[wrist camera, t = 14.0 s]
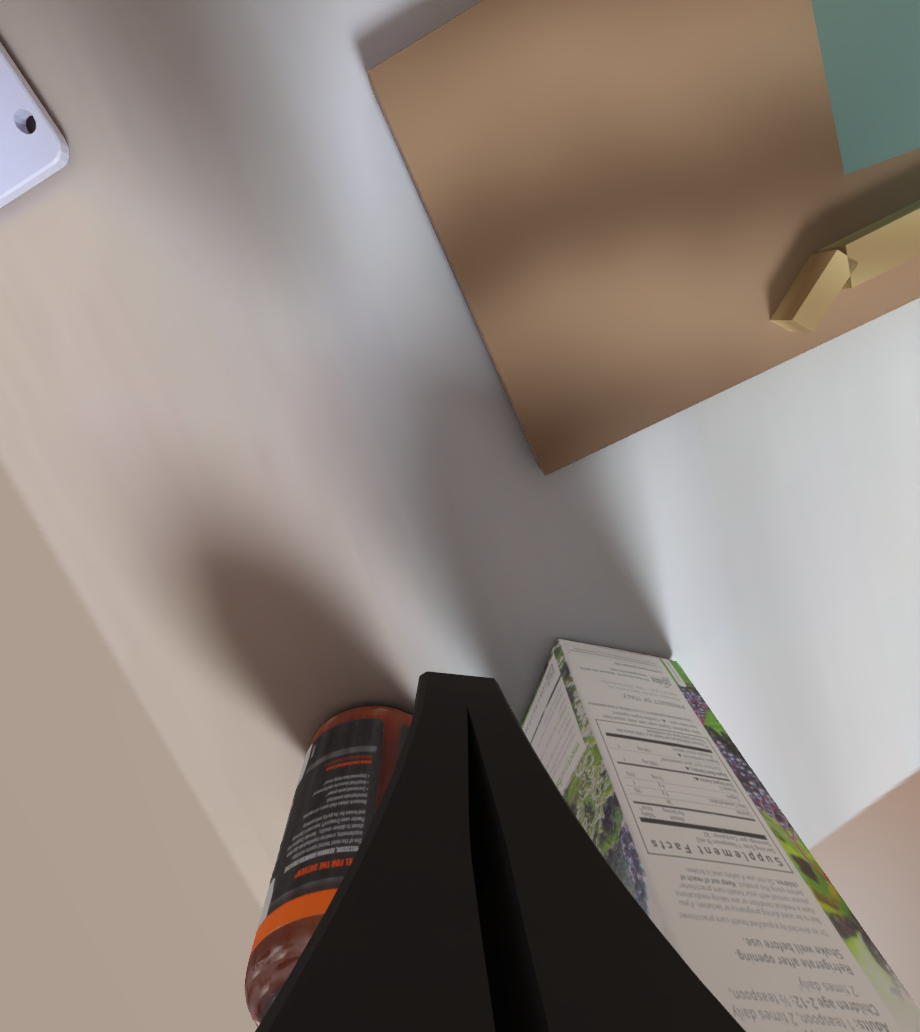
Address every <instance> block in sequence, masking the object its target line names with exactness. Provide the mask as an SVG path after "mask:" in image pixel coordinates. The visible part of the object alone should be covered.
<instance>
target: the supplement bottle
mask: <svg viewBox="0 0 920 1032" xmlns="http://www.w3.org/2000/svg"><path fill="white" fill-rule="evenodd" d="M412 716H413V715H411V714H409V713H406V712H404V711H401V710H398V709H395V708H390V707H385V706H363V707H358V708H353V709H350V710H347V711H344V712H341V713H339V714H337V715H335V716H334V717H332V718H330V719H329V720H327V721H326V722H325V723H324V724H323V725H322V726H321V727H320V728H319V729H318V730H317V732H316V733H315V735H314V736H313V738H312V740H311V742H310V745H309V748H308V751H307V753H306V756H305V759H304V763H303V767H302V770H301V774H300V778H299V781H298V785H297V788H296V791H295V796H294V799H293V802H292V806H291V810H290V813H289V817H288V821H287V824H286V828H285V831H284V835H283V839H282V842H281V845H280V850H279V853H278V857H277V861H276V864H275V868H274V871H273V874H272V878H271V881H270V886H269V889H268V893H267V896H266V900H265V903H264V907H263V911H262V914H261V918H260V922H259V925H258V929H257V933H256V937H255V940H254V944H253V947H252V951H251V955H250V958H249V962H248V967H247V972H246V979H245V996H246V1003H247V1006H248V1009H249V1012H250V1013H251V1016H252V1019H253V1020H254V1021H255V1023H256V1025H257V1027H258V1026H259V1025H260V1023H261V1022H262V1020H263V1018H264V1017H265V1015H266V1013H267V1012H268V1010H269V1008H270V1007H271V1005H272V1004H273V1002H274V1000H275V999H276V997H277V995H278V993H279V992H280V990H281V988H282V987H283V985H284V983H285V982H286V980H287V978H288V977H289V975H290V973H291V972H292V970H293V968H294V966H295V965H296V963H297V961H298V959H299V958H300V956H301V954H302V952H303V950H304V949H305V947H306V945H307V943H308V942H309V940H310V938H311V936H312V935H313V933H314V931H315V929H316V928H317V926H318V924H319V922H320V921H321V919H322V917H323V915H324V913H325V912H326V910H327V908H328V906H329V904H330V903H331V901H332V899H333V897H334V895H335V893H336V891H337V889H338V888H339V886H340V884H341V882H342V880H343V878H344V876H345V874H346V872H347V871H348V869H349V867H350V865H351V863H352V861H353V859H354V857H355V855H356V853H357V851H358V849H359V847H360V845H361V843H362V841H363V839H364V837H365V835H366V833H367V830H368V828H369V826H370V824H371V822H372V820H373V817H374V815H375V813H376V811H377V808H378V806H379V804H380V802H381V800H382V797H383V795H384V793H385V791H386V788H387V786H388V784H389V782H390V779H391V777H392V775H393V772H394V770H395V767H396V764H397V762H398V759H399V756H400V753H401V751H402V748H403V745H404V743H405V740H406V737H407V735H408V732H409V728H410V725H411V722H412Z"/></svg>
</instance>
